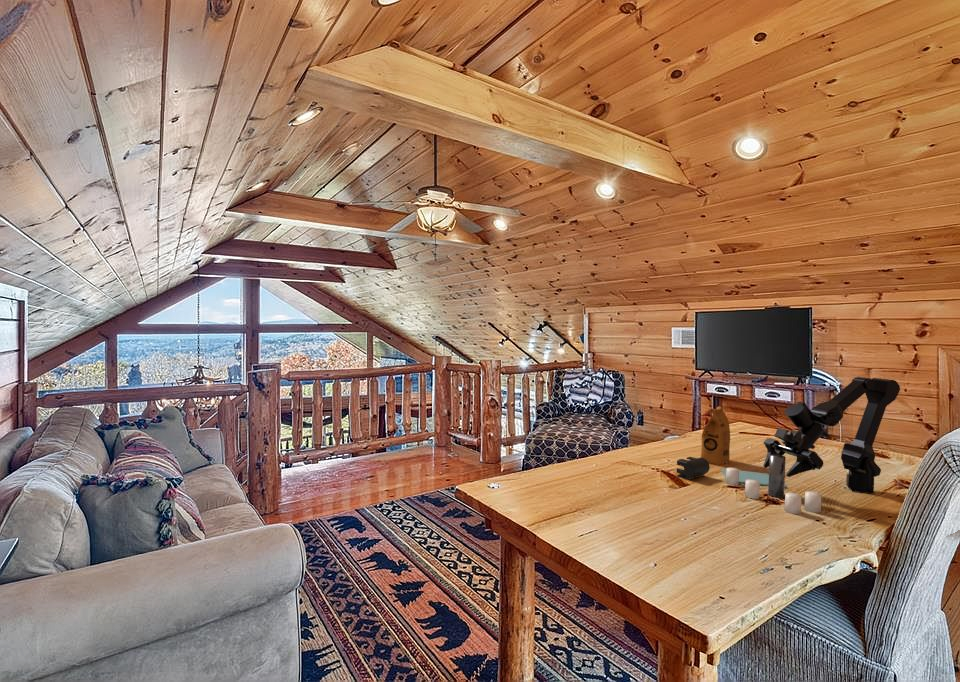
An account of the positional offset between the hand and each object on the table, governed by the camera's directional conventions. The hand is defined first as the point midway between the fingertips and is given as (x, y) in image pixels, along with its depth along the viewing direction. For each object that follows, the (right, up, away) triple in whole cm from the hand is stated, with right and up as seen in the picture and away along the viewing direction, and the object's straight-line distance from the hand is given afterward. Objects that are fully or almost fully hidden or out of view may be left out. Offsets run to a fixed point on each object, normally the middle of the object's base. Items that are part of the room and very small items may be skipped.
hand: (775, 471), depth 152 cm
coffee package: (0, -7, +39) cm, 40 cm away
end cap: (-19, -7, +18) cm, 27 cm away
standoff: (0, -8, 0) cm, 8 cm away
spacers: (-4, -8, 0) cm, 9 cm away
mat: (+2, -7, +17) cm, 19 cm away
